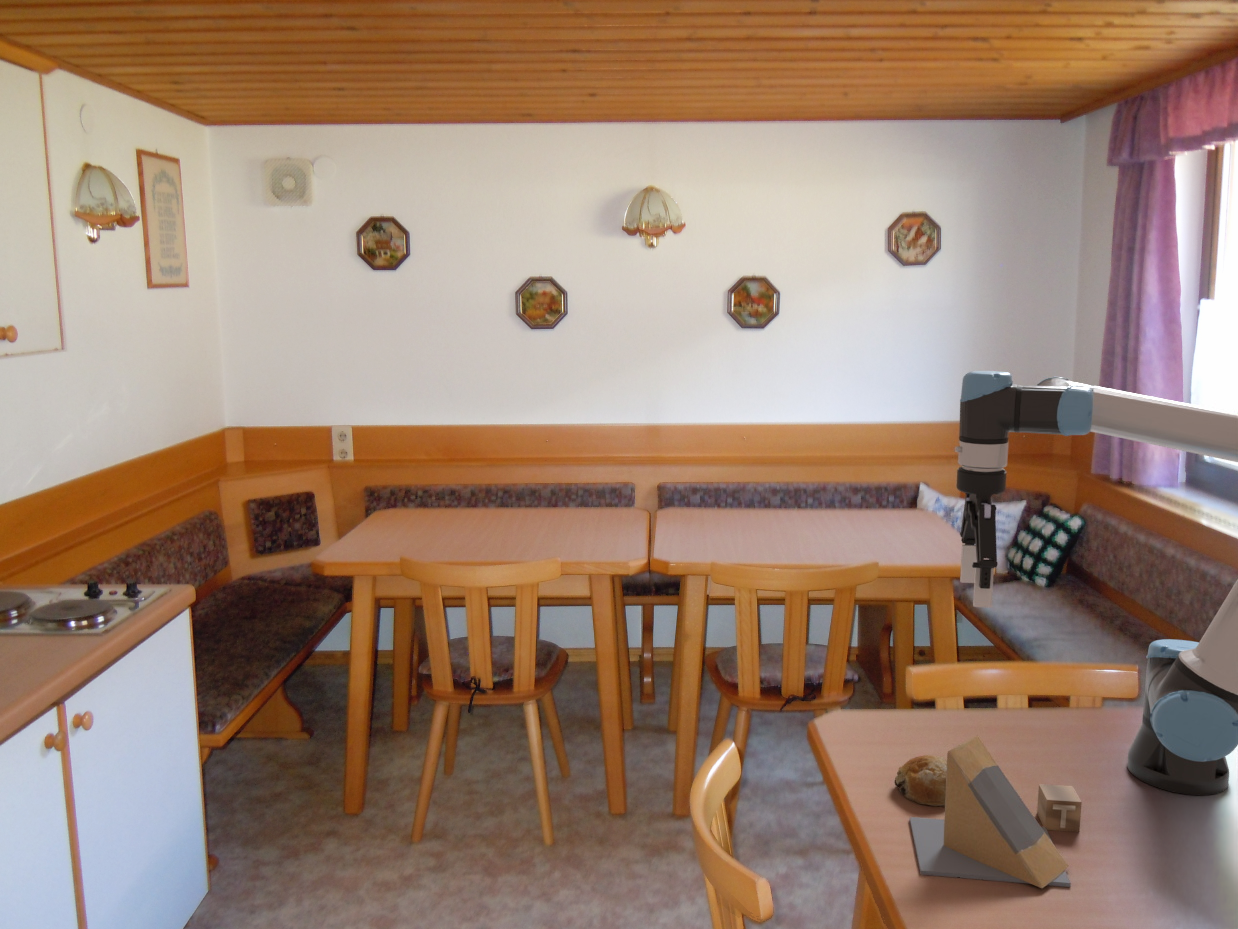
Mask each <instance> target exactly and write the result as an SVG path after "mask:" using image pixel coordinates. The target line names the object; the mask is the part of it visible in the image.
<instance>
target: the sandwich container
mask: <svg viewBox="0 0 1238 929" xmlns="http://www.w3.org/2000/svg"><path fill="white" fill-rule="evenodd" d="M946 761H947V773H946V796H945V806H944V820H945V821H944V846H946V847H948V848H950V849H953V850H955V851H957V852H959V853H961V854H963V855H966V856H968V857H970V858H972V859H974V860H977V861H979V862H981V863H983V864H986V865H988V866H990V867H993V868H995V869H997V870H1000V871H1002V872H1004V873H1007V874H1009V875H1011V876H1014V877H1016V878H1019V879H1021V880H1023V881H1026V882H1028V883H1030V885H1033V886H1035V887H1038V888H1039V889H1043V888H1046V886H1048V885H1047V884H1049V883H1050V882H1052V881H1053V880H1054V879H1056V878H1057V877H1058V876H1059V875H1060V874H1061V873H1062V872H1063V871H1064V870H1065V871H1066V869H1067V868H1068V867H1070V865H1069V864H1068V863H1067V861H1066V860H1065V859H1064V857H1063V855H1062V854H1061V853H1060V852H1059V850H1058V849H1057V847H1056V845H1055V844H1054V842H1053V841H1052V842H1051V840H1052V839H1051V840H1050V839H1049V838H1048V836H1047V835H1046V833H1045V832H1044V831H1043V829H1042V828H1041V827H1042V826H1041V825H1040V823H1039V822H1038V820H1037V819H1036V818H1035V817H1034V815H1033V814H1032V813H1031V812H1032V811H1030V809H1029V808H1028V807H1027V805H1026V803H1025V802H1024V801H1023V800H1022V798H1021V796H1020V795H1019V794H1018V792H1017V790H1016V789H1015V788H1014V786H1013V785H1012V783H1011V782H1010V781H1009V779H1008V778H1007V777H1006V775H1005V774H1004V772H1003V771H1002V769H1001V767H1000V766H999V764H998V763H997V762H996V760H995V759H994V758H993V756H992V754H991V753H990V751H989V750H988V748H987V747H986V745H985V744H984V742H983V741H982V739H981V738H980V736H979V735H975V736H973V737H972V738H970V739H967V740H966V741H964V742H962V743H960V744H958V745H957V746H954V747H953V748H951V749H948V751H947V754H946ZM1028 883H1027V884H1028Z"/></svg>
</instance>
